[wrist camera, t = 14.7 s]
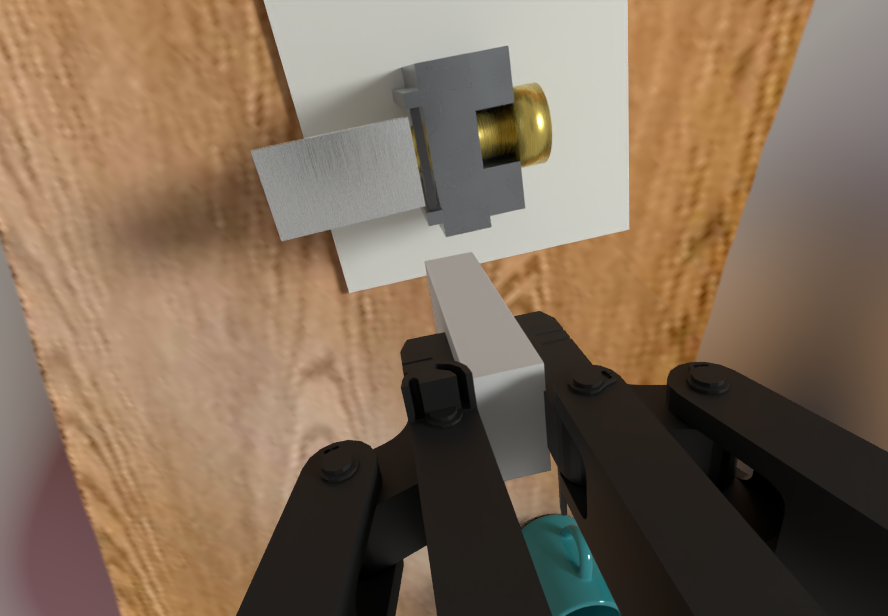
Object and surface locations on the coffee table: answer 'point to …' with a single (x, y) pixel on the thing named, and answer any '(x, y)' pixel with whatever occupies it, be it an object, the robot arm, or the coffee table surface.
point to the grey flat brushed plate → (340, 177)
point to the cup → (567, 568)
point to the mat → (532, 60)
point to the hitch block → (461, 138)
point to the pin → (515, 128)
